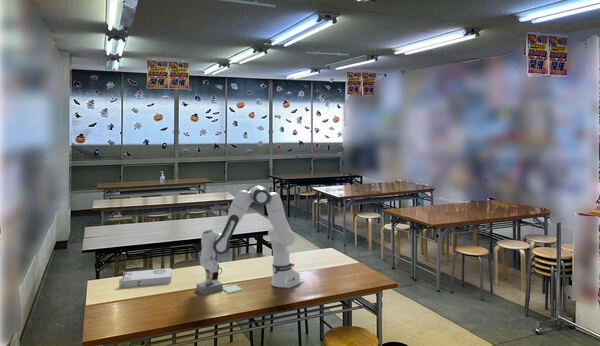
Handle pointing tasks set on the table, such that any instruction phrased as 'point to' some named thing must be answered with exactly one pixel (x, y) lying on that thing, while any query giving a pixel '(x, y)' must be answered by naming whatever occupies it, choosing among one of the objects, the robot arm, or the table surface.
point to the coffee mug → (216, 273)
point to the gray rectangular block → (209, 287)
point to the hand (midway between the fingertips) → (209, 275)
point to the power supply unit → (146, 277)
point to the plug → (208, 278)
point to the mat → (231, 289)
